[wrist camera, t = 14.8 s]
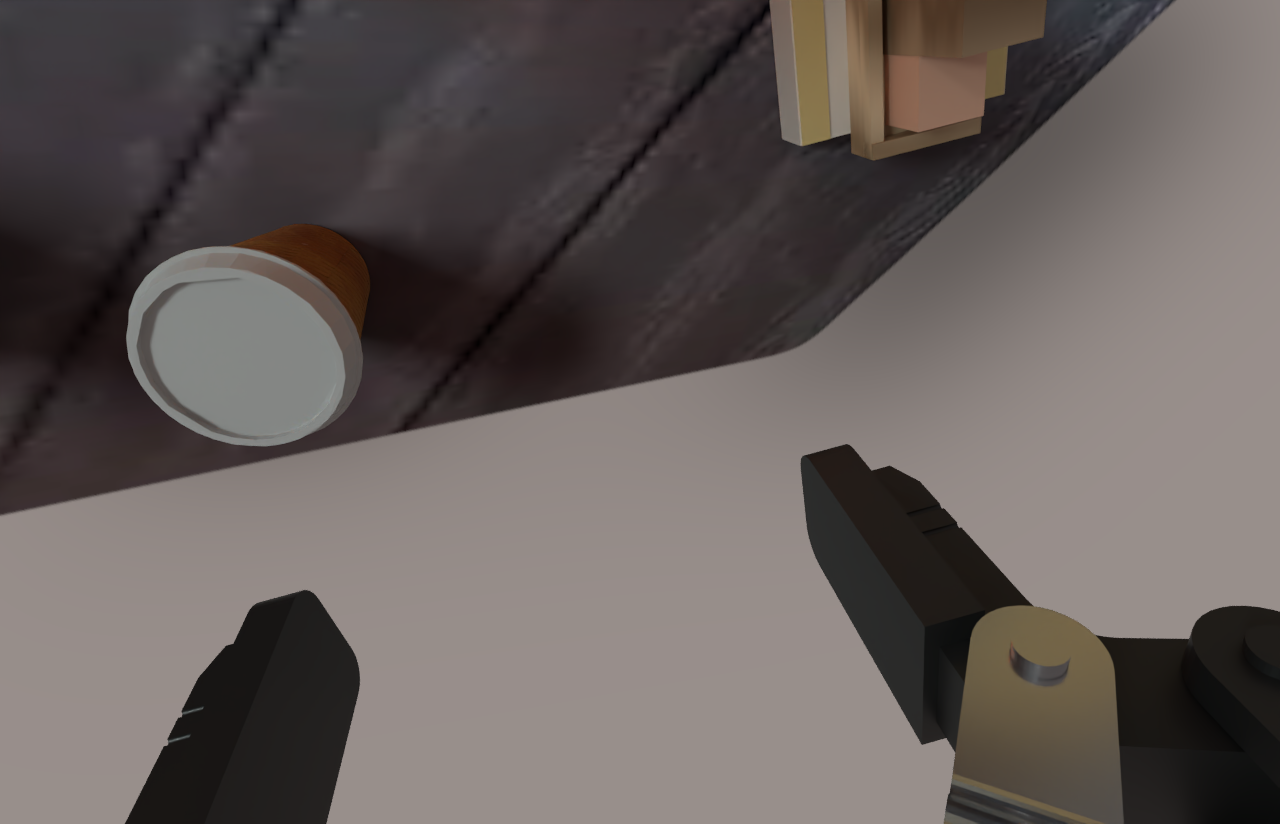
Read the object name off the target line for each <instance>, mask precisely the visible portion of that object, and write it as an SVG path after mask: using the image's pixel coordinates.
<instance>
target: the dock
mask: <svg viewBox="0 0 1280 824" xmlns="http://www.w3.org/2000/svg"><path fill="white" fill-rule="evenodd" d="M769 2H770V12H771V23H772V34H773V45H774V56H775V67H776V78H777V89H778V100H779V111H780V122H781V132H782V139H783V140H786V141H789V142H791V143H794V144H796V145H799V146H805V145H809V144H813V143H816V142H820V141H824V140H828V139H831V138H834V137H838V136H842V135H846V134H849V133H851V128H850V103H849V78H848V54H847V29H846V4H845V0H769ZM1007 52H1008V46H1007V47H1003V48H999V49H995V50H991V51H987V68H986V85H985V99H988V98H991V97H995V96H999V95H1003V94H1005V80H1006V66H1007Z"/></svg>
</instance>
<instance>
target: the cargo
mask: <svg viewBox="0 0 1280 824" xmlns="http://www.w3.org/2000/svg"><path fill="white" fill-rule="evenodd" d="M884 67H885V125H889V126H893V127H897V128H901V129H906V130H910V131H914V132H922V131H926V130H930V129H934V128H938V127H941V126H945V125H949V124H953V123H957V122H961V121H965V120H969V119H972V118H976V117H980V116H984V103H985V85H986V68H987V52H983V53H979V54H975V55H971V56H967V57H964V58H954V57H931V56H907V55H884Z"/></svg>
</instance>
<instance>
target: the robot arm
mask: <svg viewBox="0 0 1280 824" xmlns="http://www.w3.org/2000/svg"><path fill="white" fill-rule="evenodd" d="M801 474H802V484H803V494H804V503H805V512H806V522H807V530H808V535H809V539H810V542H811V545H812V549H813V552H814V554H815V557H816V559H817V561H818V563H819V565H820V567H821V569H822V570H823V572H824V574H825V576H826V577H827V579H828V580H829V583H830V584H831V586H832V588H833V589H834V591H835V593H836V595H837V597H838V599H839V600H840V602H841V604H842V606H843V607H844V609H845V611H846V613H847V614H848V616H849V618H850V620H851V621H852V623H853V625H854V627H855V628H856V630H857V632H858V634H859V635H860V637H861V639H862V640H863V642H864V644H865V646H866V647H867V649H868V651H869V653H870V655H871V656H872V658H873V660H874V662H875V663H876V665H877V667H878V669H879V670H880V672H881V674H882V676H883V677H884V679H885V681H886V683H887V684H888V686H889V688H890V690H891V691H892V693H893V695H894V697H895V698H896V700H897V702H898V704H899V705H900V707H901V709H902V711H903V712H904V714H905V716H906V718H907V719H908V721H909V723H910V725H911V726H912V728H913V730H914V732H915V733H916V735H917V737H918V739H919V741H920V742H921V744H922V745H923V744H926V743H930V742H934V741H937V740H940V739H944V738H947V740H948V741H949V743H950V745H951V746H952V748H953V749H954V751H955V760H954V767H953V775H952V783H951V789H950V793H949V795H948V799H947V805H946V811H945V818H944V824H1280V612H1278V611H1275V610H1271V609H1265V608H1260V607H1251V606H1229V607H1222V608H1218V609H1215V610H1212V611H1209V612H1208V613H1206V614H1204V615H1202V616H1201V617H1200V618H1199V619H1198V620H1197V621H1196V623H1195V625H1194V627H1193V629H1192V632H1191V636H1190V638H1189V639H1149V638H1147V639H1145V638H1143V639H1142V638H1111V637H1103V636H1097V635H1094V634H1093V633H1092V632H1091V631H1090V630H1089V629H1087V628H1086V627H1085V626H1083V625H1082V624H1080V623H1079V622H1077V621H1075V620H1074V619H1071V618H1070V617H1068V616H1065V615H1063V614H1061V613H1058V612H1055V611H1053V610H1049V609H1045V608H1041V607H1034V606H1033V605H1032V604H1031V603H1030V602H1029V601H1028V600H1026V598H1025V597H1024V596H1023V595H1022V594H1021V593H1020V592H1019V591H1018V590H1017V588H1016V587H1015V586H1014V585H1013V584H1012V583H1011V582H1010V581H1009V580H1008V578H1007V577H1006V576H1005V575H1004V574H1003V573H1002V572H1001V571H1000V570H999V569H998V567H997V566H996V565H995V564H994V563H993V562H992V561H991V560H990V559H989V558H988V556H987V555H986V554H985V553H984V552H983V551H982V550H981V549H980V548H979V546H978V545H977V544H976V543H975V542H974V541H973V540H972V539H971V538H970V536H969V535H968V534H967V533H966V532H965V531H964V530H963V529H962V528H959V527H958V526H957V522H956V521H955V520H954V519H953V518H952V517H951V515H950V514H949V513H948V512H947V511H946V510H945V509H944V508H943V509H942V508H941V506H940V503H939V502H938V501H937V500H936V499H935V498H934V497H933V496H932V495H931V493H930V492H929V491H928V490H927V489H926V488H925V487H924V486H923V485H922V483H921V482H920V481H918V480H916V479H914V478H912V477H910V476H908V475H906V474H904V473H902V472H901V471H899V470H897V469H895V468H893V467H891V466H887V467H883V468H880V469H877V470H873V471H871V470H870V468H869V467H868V466H867V465H866V463H865V462H864V461H863V460H862V459H861V457H860V456H859V455H858V454H857V452H856V451H855V450H854V449H853V448H852V447H851V446H850V445H848V444H845V445H842V446H838V447H834V448H831V449H827V450H823V451H820V452H816V453H812V454H808V455H805V456H803V457H802V458H801ZM359 686H360V674H359V667H358V662H357V659H356V656H355V654H354V652H353V650H352V649H351V647H350V646H349V644H348V643H347V641H346V640H345V638H344V637H343V635H342V634H341V632H340V631H339V629H338V628H337V626H336V625H335V623H334V622H333V620H332V619H331V617H330V616H329V614H328V613H327V611H326V610H325V608H324V607H323V605H322V604H321V602H320V601H319V599H318V598H317V596H316V595H315V594H314V593H312V592H310V591H307V590H303V591H300V592H296V593H292V594H289V595H285V596H281V597H278V598H274V599H270V600H267V601H263V602H259V603H257V604H255V605H254V606H253V607H252V608H251V609H250V610H249V612H248V614H247V616H246V618H245V621H244V622H243V625H242V627H241V629H240V631H239V633H238V635H237V638H236V640H235V642H234V644H231V645H228V646H225V648H224V649H223V650H222V651H221V652H220V653H219V655H218V656H217V657H216V658H215V659H214V660H213V661H212V663H211V664H210V665H209V666H208V667H207V669H206V670H205V671H204V672H203V673H202V674H201V675H200V677H199V678H198V680H197V681H196V684H195V686H194V688H193V689H192V691H191V694H190V695H189V698H188V700H187V701H186V703H185V706H184V707H183V709H182V714H183V715H182V717H180V718H178V719H177V721H176V723H175V725H174V727H173V729H172V731H171V733H170V735H169V737H168V746H164V747H163V749H162V751H161V753H160V755H159V757H158V759H157V761H156V763H155V765H154V767H153V769H152V771H151V773H150V775H149V777H148V779H147V781H146V783H145V785H144V787H143V789H142V791H141V793H140V795H139V797H138V799H137V801H136V803H135V805H134V807H133V809H132V811H131V813H130V815H129V817H128V819H127V821H126V823H125V824H326V822H327V818H328V814H329V810H330V806H331V802H332V798H333V794H334V790H335V786H336V781H337V778H338V774H339V770H340V766H341V762H342V757H343V754H344V749H345V745H346V741H347V737H348V733H349V729H350V725H351V721H352V717H353V713H354V708H355V705H356V701H357V697H358V692H359Z"/></svg>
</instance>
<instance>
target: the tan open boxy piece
mask: <svg viewBox="0 0 1280 824" xmlns="http://www.w3.org/2000/svg"><path fill="white" fill-rule="evenodd" d="M845 4H846V29H847V54H848V78H849V103H850V128H851V153H853V154H856V155H859V156H861V157H864V158H867V159H870V160H873V161H874V160H878V159H882V158H886V157H890V156H893V155H897V154H901V153H905V152H909V151H913V150H917V149H920V148H924V147H928V146H932V145H936V144H940V143H944V142H948V141H951V140H955V139H959V138H963V137H967V136H971V135H975V134H978V133H981V117H976V118H972V119H969V120H965V121H961V122H957V123H953V124H949V125H945V126H941V127H938V128H934V129H930V130H926V131H922V132H914V131H910V130H906V129H901V128H897V127H893V126H889V125H885V67H884V55H907V56H931V57H954V58H964V57H967V56H971V55H975V54H979V53H983V52H987V51H991V50H995V49H999V48H1003V47H1007V46H1011V45H1014V44H1018V43H1022V42H1026V41H1030V40H1034V39H1038V38H1042V37H1043V35H1044V25H1045V15H1046V4H1047V0H845Z"/></svg>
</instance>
